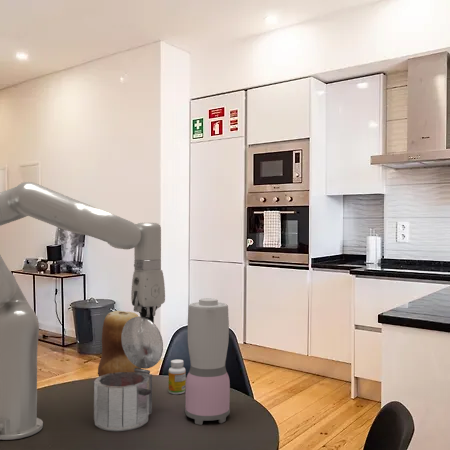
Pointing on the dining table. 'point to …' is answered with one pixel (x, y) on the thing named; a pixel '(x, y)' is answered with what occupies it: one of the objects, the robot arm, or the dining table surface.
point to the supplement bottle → (177, 377)
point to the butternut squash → (114, 344)
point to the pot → (122, 400)
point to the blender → (208, 361)
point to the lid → (142, 343)
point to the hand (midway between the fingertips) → (147, 330)
